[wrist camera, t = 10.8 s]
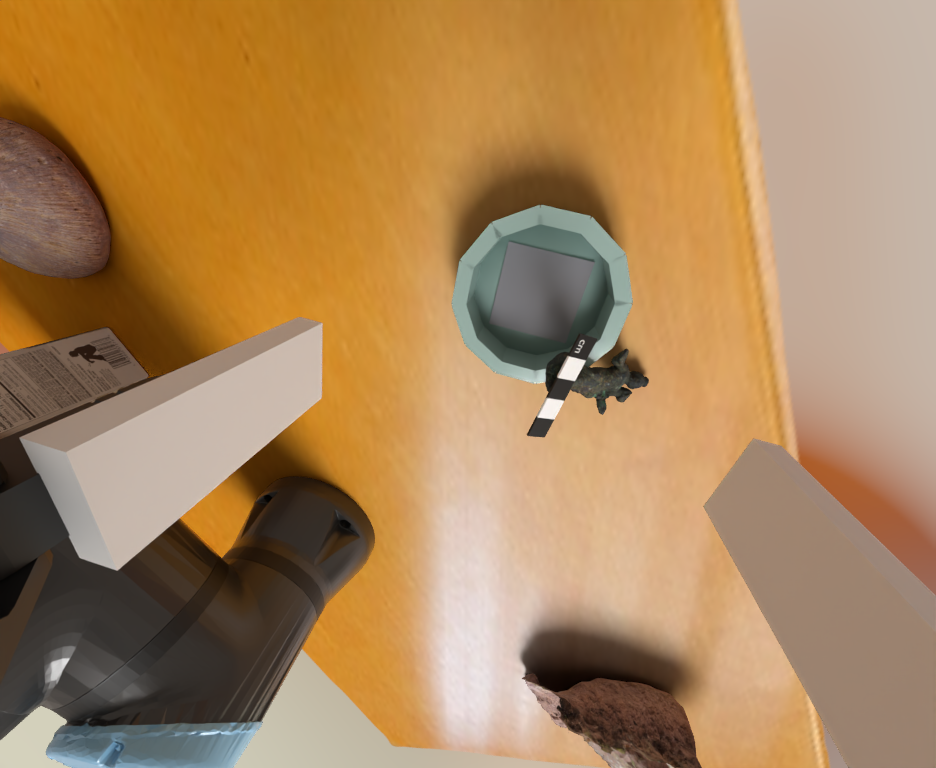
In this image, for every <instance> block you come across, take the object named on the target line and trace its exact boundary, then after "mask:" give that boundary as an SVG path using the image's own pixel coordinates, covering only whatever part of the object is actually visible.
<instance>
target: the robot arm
mask: <svg viewBox="0 0 936 768" xmlns="http://www.w3.org/2000/svg"><path fill="white" fill-rule="evenodd" d="M321 398H322V323H320V322H317V321H313V320H309V319H305V318H302V317H298V318H296V319H294V320H291V321H289V322H287V323H284V324H282V325H280V326H277V327H275V328H273V329H270V330H268V331H266V332H263V333H261V334H259V335H256V336H254V337H252V338H249V339H247V340H245V341H242V342H240V343H238V344H235V345H233V346H231V347H228V348H226V349H224V350H222V351H219V352H217V353H215V354H212V355H210V356H208V357H205V358H203V359H201V360H198V361H196V362H194V363H191V364H189V365H187V366H184V367H182V368H180V369H177V370H175V371H173V372H170V373H168V374H164V375H160V376H156V377H151V378H147V379H143V380H141V381H138V382H136V383H133V384H131V385H129V386H126V387H124V388H122V389H119V390H117V393H113V392H112V393H110V394H107V395H105V396H102V397H100V398H98V399H95V402H94V403H91V402H88V403H86V404H83V405H81V406H79V407H76V408H74V409H71V410H69V411H67V412H64V413H62V414H59V415H57V416H55V417H52V418H50V419H47V420H45V421H43V422H40V423H38V424H36V425H33V426H31V427H28V428H26V429H24V430H21V431H19V432H16V433H14V434H12V435H9V436H7V437H4V438H2V439H0V740H1V739H2V738H3V737H5V736H6V735H7V734H8V733H9V732H10V731H11V730H12V729H14V728H15V727H16V726H17V725H18V724H19V723H20V722H21V721H22V720H24V718H25V717H27V716H28V715H29V714H30V713H31V712H33V711H34V710H35V709H36V708H38V707H40V706H43V707H45V708H48V709H50V710H52V711H54V712H56V713H57V714H58V715H60V716H61V717H63V718H65V719H66V720H67V723H66V724H65V725H63V726H61V727H60V728H59V729H58V730H57V731H56V732H55V735H54V737H53V740H52V741H51V743H50V744H49V745H48V747H47V750H46V755H47V756H48V757H49V758H50V759H55V760H56V761H58V762H61V763H63V764H64V765H66V766H69V767H72V768H233V767H234V766H235V764H236V763H237V761H238V759H239V758H240V756H241V755H242V753H243V752H244V750H245V748H246V747H247V745H248V744H249V742H250V740H251V739H252V737H253V736H254V734H255V733H256V731H257V730H258V729H259V728H260V727H261V725H262V723H263V722H262V720H263V718H264V716H265V714H266V712H267V711H268V709H269V707H270V705H271V703H272V702H273V700H274V698H275V696H276V694H277V692H278V691H279V689H280V687H281V685H282V683H283V681H284V680H285V678H286V676H287V674H288V672H289V671H290V669H291V667H292V665H293V663H294V662H295V660H296V658H297V656H298V654H299V653H300V651H301V649H302V647H303V645H304V644H305V642H306V640H307V638H308V636H309V634H310V633H311V631H312V629H313V627H314V625H315V624H316V621H317V620H318V618H319V616H320V614H321V613H322V611H323V609H324V608H325V606H326V604H327V603H328V602H329V601H330V600H331V599H332V598H333V597H334V596H335V595H336V594H337V593H338V592H339V591H340V590H341V589H342V588H343V587H344V586H345V585H346V584H347V583H348V582H349V581H350V580H351V579H352V578H353V577H354V576H355V575H356V574H357V573H358V572H359V571H360V569H361V568H362V567H363V566H364V565H365V563H366V562H367V560H368V558H369V556H370V554H371V552H372V550H373V548H374V543H375V535H374V530H373V527H372V525H371V522H370V520H369V519H368V517H367V515H366V514H365V513H364V511H363V510H362V509H361V508H360V507H359V505H358V504H357V503H356V502H355V501H353V500H352V499H351V498H350V497H349V496H347V495H346V494H345V493H343V492H342V491H340V490H338V489H337V488H335V487H333V486H331V485H329V484H327V483H324V482H322V481H319V480H316V479H312V478H307V477H299V476H293V477H285V478H281V479H279V480H276V481H275V482H273V483H272V484H271V485H270V486H269V487H268V488H267V489H266V490H265V491H264V492H263V493H262V494H261V495H260V496H259V497H258V498H257V500H256V501H255V503H254V505H253V507H252V509H251V511H250V513H249V515H248V517H247V519H246V521H245V523H244V525H243V527H242V529H241V531H240V533H239V535H238V537H237V539H236V541H235V543H234V545H233V546H232V548H231V549H230V550H229V551H228V552H227V553H226V554H225V555H224V557H223V558H221V557H220V556H219V555H218V554H217V553H216V552H215V551H214V550H213V549H211V548H210V547H209V546H208V545H207V544H206V543H205V542H204V541H203V540H202V539H201V538H200V537H199V536H198V535H197V534H196V533H195V532H193V531H192V530H191V529H190V528H189V527H188V526H187V525H186V524H185V523H184V522H183V521H182V520H181V519H180V517H181V516H183V515H184V514H185V513H186V512H187V511H188V510H190V509H191V508H192V507H193V506H194V505H196V504H197V503H198V502H199V501H200V500H202V499H203V498H204V497H205V496H206V495H207V494H209V493H210V492H211V491H212V490H213V489H215V488H216V487H217V486H218V485H219V484H220V483H222V482H223V481H224V480H225V479H226V478H228V477H229V476H230V475H231V474H232V473H233V472H235V471H236V470H237V469H238V468H239V467H241V466H242V465H243V464H244V463H245V462H247V461H248V460H249V459H250V458H251V457H252V456H254V455H255V454H256V453H257V452H258V451H260V450H261V449H262V448H263V447H264V446H265V445H267V444H268V443H269V442H270V441H271V440H273V439H274V438H275V437H276V436H277V435H278V434H280V433H281V432H282V431H283V430H284V429H286V428H287V427H288V426H289V425H290V424H292V423H293V422H294V421H295V420H296V419H297V418H299V417H300V416H301V415H302V414H303V413H305V412H306V411H307V410H308V409H309V408H310V407H312V406H313V405H314V404H315V403H316V402H318V401H319V400H320V399H321ZM703 507H704V508H705V510H706V512H707V514H708V516H709V518H710V519H711V521H712V523H713V525H714V527H715V528H716V530H717V532H718V534H719V536H720V537H721V539H722V541H723V543H724V545H725V546H726V548H727V550H728V552H729V554H730V555H731V557H732V559H733V561H734V563H735V564H736V566H737V568H738V570H739V572H740V573H741V575H742V577H743V579H744V581H745V582H746V584H747V586H748V588H749V590H750V591H751V593H752V595H753V597H754V599H755V600H756V602H757V604H758V606H759V608H760V609H761V611H762V613H763V615H764V617H765V618H766V620H767V622H768V624H769V626H770V627H771V629H772V631H773V633H774V635H775V636H776V638H777V640H778V642H779V644H780V645H781V647H782V649H783V651H784V653H785V654H786V656H787V658H788V660H789V662H790V663H791V665H792V667H793V669H794V671H795V672H796V674H797V676H798V678H799V680H800V681H801V683H802V685H803V687H804V689H805V690H806V692H807V694H808V696H809V698H810V699H811V701H812V703H813V705H814V707H815V709H816V710H817V712H818V714H819V716H820V718H821V719H822V721H823V723H824V725H825V727H826V728H827V730H828V732H829V734H830V735H831V737H832V739H833V741H834V743H835V745H836V746H837V748H838V750H839V752H840V754H841V755H842V757H843V759H844V760H845V762H846V764H847V766H848V768H936V596H935V595H934V594H933V593H932V592H931V591H930V590H929V589H928V588H927V587H926V586H925V585H924V584H923V583H922V582H921V581H920V580H919V579H918V578H917V577H916V576H915V575H913V573H912V572H911V571H910V570H908V568H906V567H905V566H904V565H903V564H902V563H901V562H900V561H899V560H898V559H897V558H896V557H895V556H894V555H893V554H892V553H891V552H890V551H889V550H888V549H887V548H886V547H885V546H884V545H883V544H882V543H881V542H880V541H878V539H877V538H876V537H874V536H873V535H872V534H871V533H870V532H869V531H868V530H867V529H866V528H865V527H864V526H863V525H862V524H861V523H860V522H859V521H858V520H857V519H856V518H855V517H854V516H853V515H852V514H851V513H850V512H849V511H848V510H847V509H846V508H845V507H843V506H842V505H841V504H840V503H839V502H838V501H837V500H836V499H835V498H834V497H833V496H832V495H831V494H830V493H829V492H828V491H827V490H826V489H825V488H824V487H823V486H822V485H821V484H820V483H819V482H818V481H817V480H816V479H815V478H813V476H811V475H810V474H809V473H808V472H807V471H806V470H805V469H804V468H803V467H802V466H801V465H800V464H799V463H798V462H797V461H796V460H795V459H794V458H793V457H792V456H791V455H790V454H789V453H788V452H787V451H786V450H785V449H784V448H783V447H782V446H779V445H776V444H772V443H768V442H764V441H761V440H757V439H753V440H752V441H751V442H750V444H749V445H748V446H747V448H746V449H745V450H744V452H743V453H742V455H741V456H740V457H739V459H738V460H737V461H736V463H735V464H734V465H733V467H732V468H731V469H730V471H729V472H728V474H727V475H726V476H725V478H724V479H723V480H722V482H721V483H720V484H719V486H718V487H717V489H716V490H715V491H714V493H713V494H712V495H711V497H710V498H709V499H708V501H707V502H706V503H705V505H704V506H703Z"/></svg>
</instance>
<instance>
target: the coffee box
mask: <svg viewBox="0 0 936 768" xmlns="http://www.w3.org/2000/svg"><path fill="white" fill-rule="evenodd" d="M148 376H149V375H148V374H147V373H146V371H145V370H144V369H143V368H142V367H141V366H140V364H139V363H138V362H137V361H136V360H135V358H134V357H133V356H132V355H131V354H130V353H129V351H128V350H127V349H126V348H125V347H124V345H123V344H122V343H121V342H120V341H119V339H118V338H117V337H116V336H115V335H114V333H113V332H112V331H111V330H110V329H109V328H108V327H104V328H100V329H96V330H92V331H89V332H85V333H81V334H77V335H74V336H70V337H66V338H62V339H58V340H54V341H50V342H46V343H43V344H39V345H35V346H31V347H27V348H23V349H19V350H15V351H11V352H8V353H4V354H0V439H2V438H4V437H7V436H9V435H12V434H14V433H16V432H19V431H21V430H24V429H26V428H28V427H31V426H33V425H36V424H38V423H40V422H43V421H45V420H47V419H50V418H52V417H55V416H57V415H59V414H62V413H64V412H67V411H69V410H71V409H74V408H76V407H79V406H81V405H83V404H86V403H88V402H91V403H94V402H95V399H98V398H100V397H102V396H105V395H107V394H110V393H112V392H113V393H117V390H119V389H122V388H124V387H126V386H129V385H131V384H133V383H136V382H138V381H141V380H143V379H146V378H147V377H148Z"/></svg>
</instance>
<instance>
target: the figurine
mask: <svg viewBox="0 0 936 768" xmlns="http://www.w3.org/2000/svg"><path fill="white" fill-rule="evenodd" d="M596 341H597V338H594V337H591V336H587V335H584V334H581V333H579V334H578V336H577V338H576V340H575V342H574V344H573V346H572V348H571V350H570V352H561V353H559V354H557V355H556V356H555V357H554V358H553V359H552V360H551V361H549V362H548V364H547V367H546V373H545V375H546V381H545V384H546V387H547V391H548V392H549V393H548V395H547V397H546V399H545V400H544V402H543V404H542V406H541V408H540V410H539V412H538V414H537V416H536V418H535V420H534V422H533V424H532V426H531V428H530V430H529V432H528V433H527V435H528V436H534V437H545V436H546V434H547V432H548V430H549V428H550V426H551V425H552V423H553V421H554V419H555V417H556V415H557V413H558V412H559V410H560V408H561V406H562V404H563V402H564V400H565V399H566V397H567V395H568V393H569V391H570V390H572V391H573V392H577V393H581V394H582V395H583V396H585V397H586V398H592V397H595V398H596V401H597V408H598V410H599V413H600V414H602V415H603V414H604V412H605V410H606V403H605V399H606V398H608V397H609V396H615V397H616V399H617V401H619V402H624V401H625V400H626V399H627V398H628V397H629V396H630V394H632V392H631V391H630V390H629V389H627V388H624V387H621V386H622V385H623V384H626V385H627V387H629V388H631V389H634V388H639V387H641V386H643V387H646V386H647V384H648V382H649V380H648V378H647V377H644V376H643V374H641V373H639V372H636V371H632V372H630V371H629V367H628V365H627V364H626V363H625V360H626V358H627V355H628V352H629V350H628V349H625V350H624V351H622V352H620V353H619V354H618V355H617V356H615V357H614V358H613V359H612V361H611V362H612V364H613V365H614V366H611V367H610V368H602V367H593V368H590V367H587V366H585V365H584V363H585V362H586V360H587V358H588V356H589V354H590V352H591V350H592V349H593V347H594V345H595V343H596Z"/></svg>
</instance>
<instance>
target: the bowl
mask: <svg viewBox="0 0 936 768" xmlns="http://www.w3.org/2000/svg"><path fill="white" fill-rule="evenodd" d="M632 303H633V300H632V293H631V285H630V278H629V271H628V264H627V256H626V253H625V252H624V251H623V250H622V249H621V248H620V247H619V246H618V245H617V243H616V242H615V241H614V240H613V239H612V238H611V237H610V236H609V235H608V234H607V232H606V231H605V230H604V229H603V228H602V227H601V226H600V225H599V224H598V223H597V221H596V220H595V219H594V218H593V217H591V216H589V215H584V214H580V213H576V212H571V211H567V210H563V209H558V208H554V207H550V206H545V205H537V206H535V207H532V208H529V209H526V210H523V211H521V212H518V213H515V214H512V215H509V216H507V217H504V218H501V219H498V220H496V221H493V222H492V223H490V224H489V225H488V227H487V228H486V229H485V230H484V231H483V233H482V234H481V235H480V236H479V237H478V239H477V240H476V241H475V242H474V243H473V245H472V246H471V247H470V248H469V249H468V251H467V252H466V253H465V254H464V255H463V257H462V258H461V259H460V261H459V266H458V272H457V277H456V283H455V288H454V294H453V299H452V304H453V305H452V308H453V311H454V314H455V317H456V320H457V323H458V326H459V329H460V332H461V335H462V338H463V341H464V344H466V346H467V347H468V348H469V349H470V350H471V351H472V352H473V353H474V354H475V355H476V356H477V357H478V358H480V359H481V360H482V361H483V362H484V363H485V364H486V365H487V366H488V367H489V368H490V369H491V370H492V371H494V372H496V373H497V374H501V375H504V376H508V377H512V378H515V379H519V380H523V381H526V382H530V383H536V384H537V383H542V382H545V381H546V375H545V373H546V367H547V364H548V362H549V361H551V360H552V359H553V358H554V357H555V356H556V355H557V354H559V353H561V352H570V350H571V348H572V346H573V344H574V342H575V340H576V338H577V336H578V334H579V333H581V334H584V335H587V336H591V337H594V338H597V341H596V343H595V345H594V347H593V349H592V350H591V352H590V354H589V356H588V358H587V360H586V362H585V363H584V365H585V366H587V367H589V366H590V365H592V364H593V363H594V362H596V361H597V360H598V359H599V358H601V357H602V356H603V355H604V354H606V353H607V352H608V351H610V350H611V349H612V348H613V347H612V346H615V343H616V341H617V339H618V336H619V334H620V332H621V330H622V327H623V325H624V323H625V320H626V318H627V316H628V314H629V311H630V309H631V307H632Z"/></svg>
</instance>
